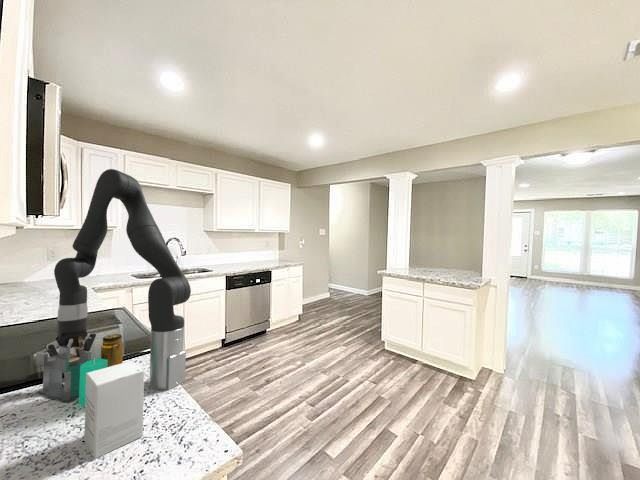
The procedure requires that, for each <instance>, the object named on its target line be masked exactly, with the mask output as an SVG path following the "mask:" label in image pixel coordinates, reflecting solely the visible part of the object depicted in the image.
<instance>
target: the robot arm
mask: <svg viewBox="0 0 640 480" xmlns="http://www.w3.org/2000/svg"><path fill="white" fill-rule="evenodd" d="M113 199H117V200H119V201H121V203H122V204H123V207H124V208H125V209H126V212H127V214H128V215H127V216H128V219H127V222H126V228H125V230H126V235H127V238H128V239H129V241H130V244H131V247H132V248H133V250H134V251H135V252H136V254H138V256H140V257H141V258H142V259H143V260H144V261H146V262H147V263H148V264H149V265H151V266H152V267H153V268H154V269H155V270H156V271H157V272H158V274H159V275H160V278H156V279H154V280H153V281H152V282H151V283H150V285H149V288H148V294H147V295H148V296H147V304H148V305H147V306H148V320H149V324H150V351H149V352H150V354H149V355H150V358H149V387H150V389H152V390H158V391H159V390H160V391H161V390H171V389H173V388H174V387H176V386H179V385H180V384H182V383H184V382H186V359H187V357H186V356H187V355H186V354H187V352H186V351H185V350H184V344H185V340H184V339H185V319H184V317H183V316H182V315H178V314H177V315H176V314H175V311H174V310H175V309H174V306H176V305H177V306H178V305H180V304H183V303H187V302H188V301H189V299H190V297H191V295H192V294H191V293H192V291H191V290H192V289H191V285H190V283H189V281H188V278H187V277H186V275H185V273H183V271H182V269H181V268H180V266H179V265H178V263H177V261H176V260H175V259H174V256H173V254H172V252H171V251H170V249H169V247H168V245H167V243H166V241H165V238H164V236H163V234H162V232H161V230H160V229H159V226H158V225H157V222H156V221H155V219H154V217H153V214H152V212H151V210H150V208H149V206H148V204H147V202H146V199H145V195H144V193H143V190H142V186H141V185H140V183H139V181H138V179H136V178H134V177H133V176H131V175H128V174H126V173H124V172H122V171H120V170H117V169H114V168H109V169H106V170H104V171H103V172H102V173H101V174H100V176H98V179H97V181H96V184H95V187H94V190H93V194H92V196H91V200H90V203H89V207H88V210H87V213H86V216H85V219H84V221H83V224H82V226H81V228H80V229H79V232H78V233H77V236H76V237H75V240H74V241H73V244H72V249H73V250H74V251H75V252H76V255H75V257H67V258H62V259H60V260H59V261H58V262H57V263H55V266H54V269H53V272H54V273H53V274H54V278H55V282H56V285H57V288H58V290H59V296H58V297H59V299H58V300H59V303H58V309H57V316H56V318H57V322H56V323H57V327H56V335H57V336H56V338H55V340H54V341H52V342H50V343H45V345H44V348H45V350H46V353H48V355H49V356H48V357H51V356H55V355H58V352H59V351H57V348H58V346H67V347H70V350H71V349H72V348H73V349H74V351H75V354H74V355H75V356H77V357H79V355H80V351H82V350H84V351H89V352H91V349H92V346H93V344H94V341H95V339H96V336H97V334H96V333H94V332H89V333H88V330H87V329H88V310H89V309H88V288H87V286H85V285H82V284H81V283H80V279H81V278H85V277H87V276H89V275H90V274H91V273H92V272H93V270H94V268H95V266H96V263H97V258H98V252H99V249H100V248H101V246H102V244H103V242H104V241H105V238H106V236H107V233H108V208H109V205H110V203H111V201H112V200H113ZM57 345H58V346H57ZM176 382H177V383H178V384H177V383H176Z"/></svg>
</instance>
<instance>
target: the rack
mask: <svg viewBox="0 0 640 480" xmlns="http://www.w3.org/2000/svg"><path fill="white" fill-rule="evenodd" d="M58 346H59V347H58V352H59V354H58V355H55V356H51V357H50V356H48V355H49V354H48V352H43V351H36V352H35V365H36V366H40V367H43V377H42V388H40V389H38V390H36V391H37V393H36V394H39V395H42V396H45V397H48V398H50V399H53V400H56V401H59V402H62V403H65V404H69V403H71V402H73V401H75V400H79V386H80V366H81V365H82V364H83V363H85V362H87V361H90V360H92V351H84V350H82V351H80V355H79V360H76V361H72V362H69V359H70V354H71V349H70V347H67V346H60V345H58ZM62 372H64V374H63V373H62ZM63 376H64V377H63ZM63 378H64V379H63Z"/></svg>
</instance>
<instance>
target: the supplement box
mask: <svg viewBox="0 0 640 480" xmlns="http://www.w3.org/2000/svg"><path fill="white" fill-rule="evenodd" d="M144 378H145V370H143V369H142V368H141V367H139V366H138V365H137V364H135V363H134V361H132V360H129V361H125V362H123V363H121V364H118V365H114V366H110V367H107V368H103V369H99V370H96V371H92V372H88V373H86V397H85V407H84V434H83V435H84V438H83V441H84V442H85V445H86V446H87V448H88V449H89V452H90V453H91V455H92V457H93V458H94V459H98V458H99V457H101V456H103V455H106V454H108V453H110V452H112V451H114V450H116V449H118V448H121V447H122V446H125V445H127V444H129V443H131V442H133V441H135V440H137V439H139V438H140V439H141V438H142V437H143V435H144V393H145V391H144V388H145V382H144V381H145V379H144Z"/></svg>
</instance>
